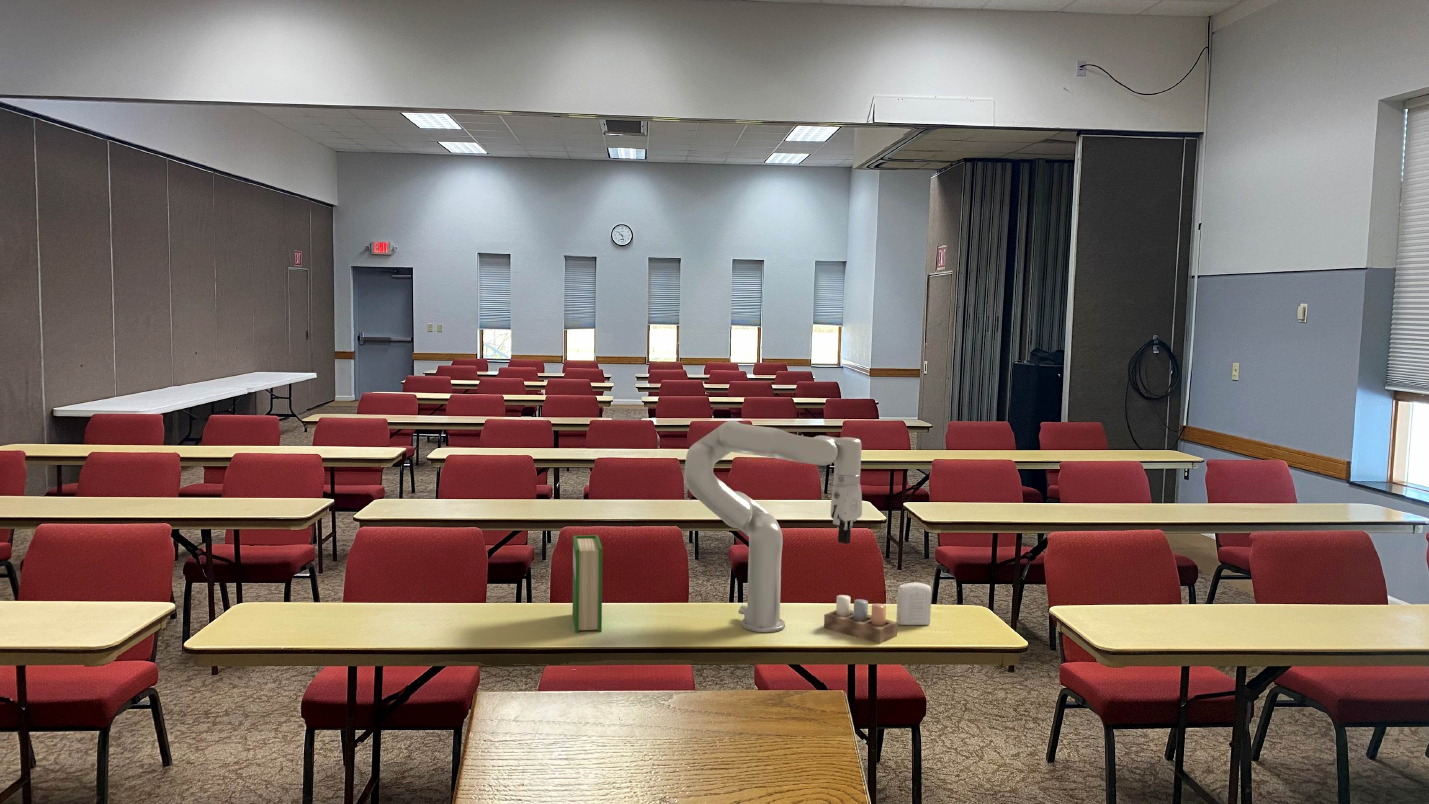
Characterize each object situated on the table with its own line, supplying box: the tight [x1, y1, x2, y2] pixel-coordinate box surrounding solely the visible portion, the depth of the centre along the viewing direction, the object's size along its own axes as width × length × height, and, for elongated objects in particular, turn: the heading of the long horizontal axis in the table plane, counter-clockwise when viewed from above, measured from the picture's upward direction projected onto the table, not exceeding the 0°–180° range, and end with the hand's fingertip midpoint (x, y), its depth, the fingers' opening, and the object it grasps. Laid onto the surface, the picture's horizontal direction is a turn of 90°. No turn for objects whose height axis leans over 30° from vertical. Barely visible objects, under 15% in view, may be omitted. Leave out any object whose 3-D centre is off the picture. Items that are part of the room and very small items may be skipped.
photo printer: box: [895, 582, 932, 626], centre depth 271 cm, size 10×4×12 cm, turn 98°
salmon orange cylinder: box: [870, 603, 887, 627], centre depth 258 cm, size 4×4×7 cm
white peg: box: [835, 594, 851, 617], centre depth 266 cm, size 4×4×7 cm
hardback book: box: [571, 534, 604, 634], centre depth 265 cm, size 18×7×24 cm, turn 11°
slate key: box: [853, 598, 869, 622], centre depth 262 cm, size 4×4×7 cm
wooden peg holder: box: [823, 609, 898, 644], centre depth 262 cm, size 19×9×4 cm, turn 48°
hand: (844, 542), depth 265 cm, fingers closed
